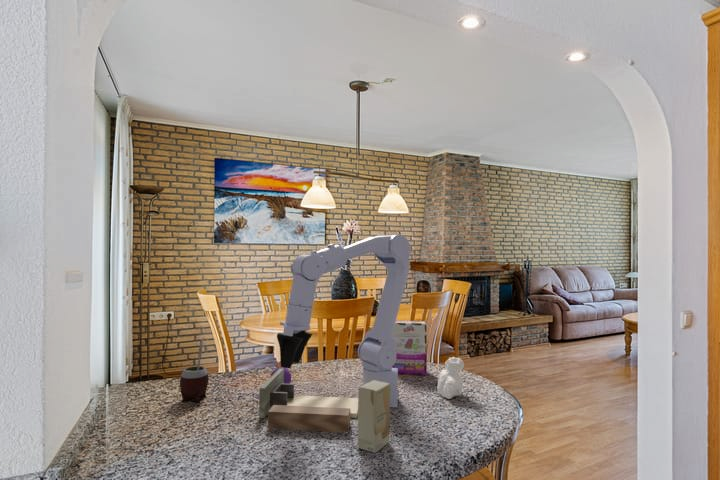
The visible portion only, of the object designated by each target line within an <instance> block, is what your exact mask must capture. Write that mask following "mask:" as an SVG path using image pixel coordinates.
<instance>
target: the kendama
mask: <svg viewBox="0 0 720 480" xmlns="http://www.w3.org/2000/svg"><path fill="white" fill-rule="evenodd" d="M279 369H284V383H287V384H291V382H292V374H291V371H290V370H289V368H284V367H281V362H280V361H278V362H277V364H276V368H275V369H273V371H271V373H270V377H271V376H272V375H274V374H275V373H276V372H277V371H278V370H279Z"/></svg>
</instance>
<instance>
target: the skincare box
mask: <svg viewBox="0 0 720 480" xmlns="http://www.w3.org/2000/svg"><path fill="white" fill-rule="evenodd" d="M357 396H358V397H357V398H358V415H357V448H358V449H361V450H363V451H366V452H367V451H368V452H370V453H378V451H380V450H381V449H383V448H384V447H385V446H387V444H389V443H390V425H391V424H390V423H391V422H390V413H391V411H390V409H391V407H390V383H385V382H380V381H376V380H373V381H371V382H369V383H366V384H364V385H363V384H362V385H361V386H358V395H357Z"/></svg>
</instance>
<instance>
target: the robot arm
mask: <svg viewBox="0 0 720 480" xmlns="http://www.w3.org/2000/svg"><path fill="white" fill-rule="evenodd" d="M411 252H412V246H411V244H410V242H409V240H408V238H407V237H406V236H405V235H403V234H396V235H395V234H394V235H392V234H391V235H383V234H379V235H376V236H369V237H367V238H364V239H362V240H359V241H357V242H355V243H352V244H349V245H346V246H344V247H342V246H341V245H339V244H335V243H330V244H327V245H326V248H323V249H320V250H315V249H314V250H311V251H310V254H309V255H308V254H301V255H298V256H297V257H296V258H295V259H294V260H293V262H292V263H291V264H290V271H291V274H292V281H291V282H292V283H291V289H290V293H289V299H288V305H287V310H286V317H285V321H280V322H279V326H282V327H283V328H284V329H283V332H278V333H277V334H276V338H277V342H278V347H279V356H280V360H279V362H281V367H284V368H287V369H291V367H292V366H293V363H296V364H299V363H300V361H301V358H302V357H303V355H304V354H303V353H304V351H305V348H306V347H307V344H308V343H309V340H310V339H311V338H312V336H313V333H312V332H308V331H310V330H311V319H312V312H313V308H314V302H315V296H316V289H317V284H318V280H319V279H320V278H322V276H323V275H324V274H327V273H331V272H333V271H335V270H338V269H341V268H343V267H345V266H346V265H347V263H348V260H351V259H355V258H357V257H361V256H363V255H364V256H365V255H367V254H373V255H374V257H375V258H376V259H377V260H378V261H379V262H380V263H381V264H382V265H383V266H384V268H385V269H386V272H387V275H386V278H385V281H384V285H383V289H382V291H381V296H380V301H379V303H378V307H377V310H376V315H375V318H374V321H373V325H372V328H371V329H369V330H368V331H366V332H365V334H364V336H363V339H362V341H361V342H360V343H359V345H358V349H357V355H358V358H359V359H360V361H361V363H362V364H361V365H362V385H364V384H366V383H369V382H371V381H373V380H376V381H380V382H385V383H390V408H398V404H399V403H398V399H399V398H400V390H399V385H398V384H399V378H398V377H399V374H398V368H392V366H393V365H394V363H395V361H396V347H397V341H396V339H395V337H394V336H393V330H394V326H395V322H396V321H397V319H398V318H397V317H398V314H399V311H400V307H401V303H402V299H403V294H404V292H405V288H406V283H407V281H408V276H409V273H410V255H411Z"/></svg>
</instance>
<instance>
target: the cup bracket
mask: <svg viewBox="0 0 720 480" xmlns="http://www.w3.org/2000/svg"><path fill="white" fill-rule="evenodd" d="M270 376H271V375H270ZM258 394H259V400H258V401H259V402H258V408H259V409H258V411H259V412H258V416H259V417H258V418H259V419H265V418H266V417H267V416H268V411H269V410H270V409H271V407H272V406H273V405H286V406H308V407H329V408H350V419H351V418H352V419H353V418H357V419H358V397H339V396H338V397H337V396H318V395H317V396H316V395H314V396H313V395H298V394H297V395H295V383H290V384H287V383H284V369H279V370H278V371H277V372H276V373H275V374H274V375H272V376H271V377H270V378H268V379H267V380H266V381H265V382H264V383H263V384H262V385H261V386H259V391H258Z"/></svg>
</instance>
